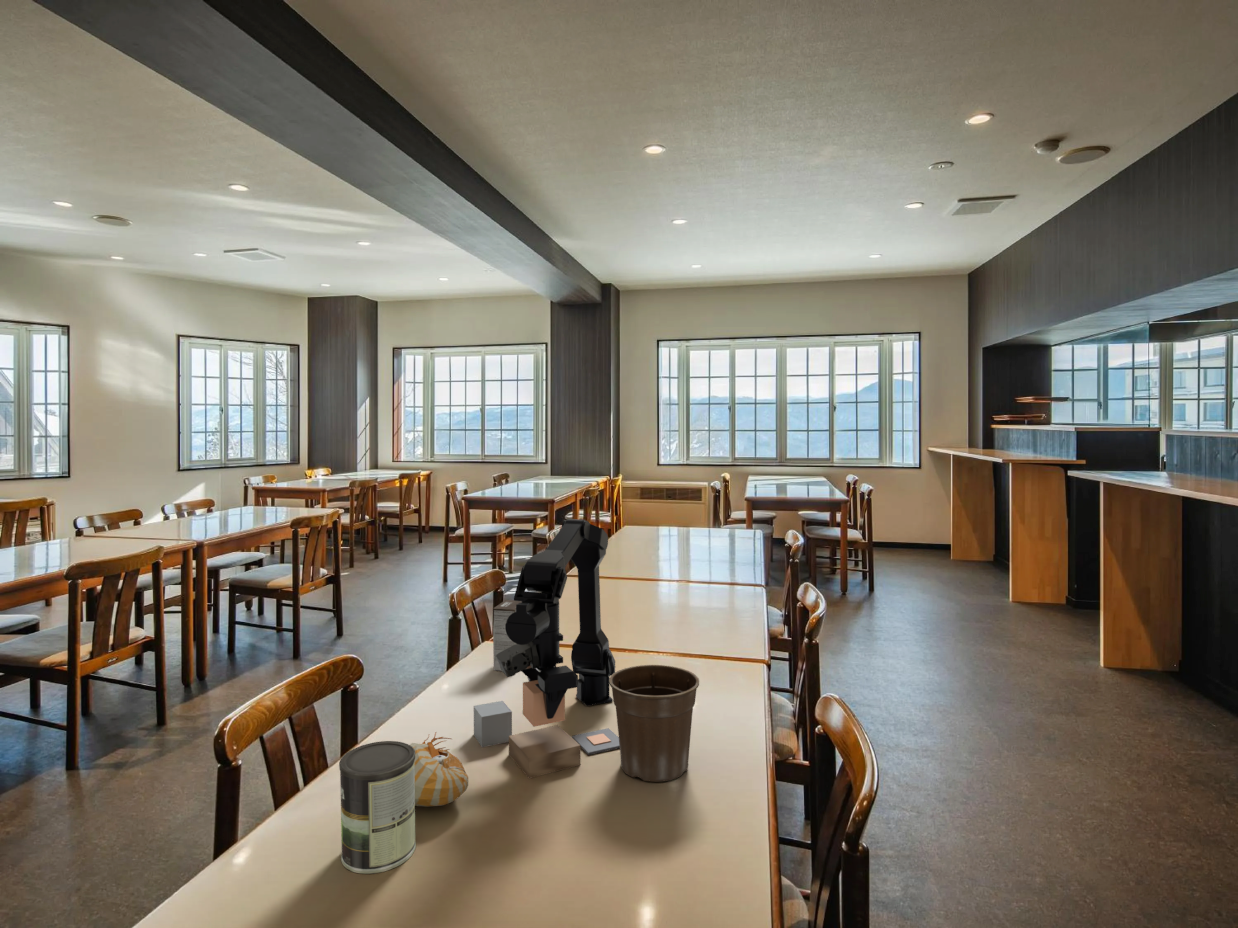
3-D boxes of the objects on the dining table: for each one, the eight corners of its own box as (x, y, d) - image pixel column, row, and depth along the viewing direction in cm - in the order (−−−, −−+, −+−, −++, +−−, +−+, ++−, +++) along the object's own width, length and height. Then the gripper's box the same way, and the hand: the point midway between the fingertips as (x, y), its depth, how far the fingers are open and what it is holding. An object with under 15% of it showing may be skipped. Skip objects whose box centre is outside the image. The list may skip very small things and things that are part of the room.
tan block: (557, 744, 135) (557, 724, 135) (580, 766, 126) (580, 745, 126) (508, 756, 130) (508, 735, 130) (529, 780, 121) (529, 757, 121)
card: (608, 730, 140) (608, 726, 140) (626, 746, 133) (626, 742, 133) (571, 737, 137) (571, 734, 137) (588, 755, 130) (588, 751, 130)
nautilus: (412, 760, 129) (491, 768, 127) (359, 818, 107) (453, 828, 106) (415, 718, 129) (494, 725, 127) (362, 766, 107) (456, 776, 106)
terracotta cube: (553, 708, 132) (553, 677, 131) (564, 720, 126) (564, 688, 126) (522, 714, 129) (522, 682, 129) (533, 726, 124) (533, 693, 123)
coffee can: (330, 876, 94) (328, 775, 94) (353, 832, 105) (351, 741, 104) (408, 872, 95) (406, 772, 95) (422, 829, 106) (421, 739, 105)
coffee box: (505, 658, 184) (505, 599, 183) (528, 660, 183) (528, 600, 182) (492, 670, 175) (492, 607, 174) (516, 672, 174) (516, 609, 173)
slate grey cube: (502, 729, 141) (502, 700, 141) (512, 741, 136) (511, 711, 135) (473, 735, 138) (473, 705, 138) (481, 747, 133) (481, 716, 133)
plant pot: (595, 754, 130) (595, 670, 129) (672, 739, 136) (672, 659, 136) (631, 797, 115) (631, 701, 114) (715, 778, 121) (716, 687, 121)
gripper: (486, 620, 132) (487, 701, 132) (517, 649, 115) (517, 741, 116) (542, 613, 137) (542, 691, 137) (579, 640, 120) (579, 728, 121)
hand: (544, 711), depth 128 cm, fingers closed on terracotta cube, 6 cm apart
